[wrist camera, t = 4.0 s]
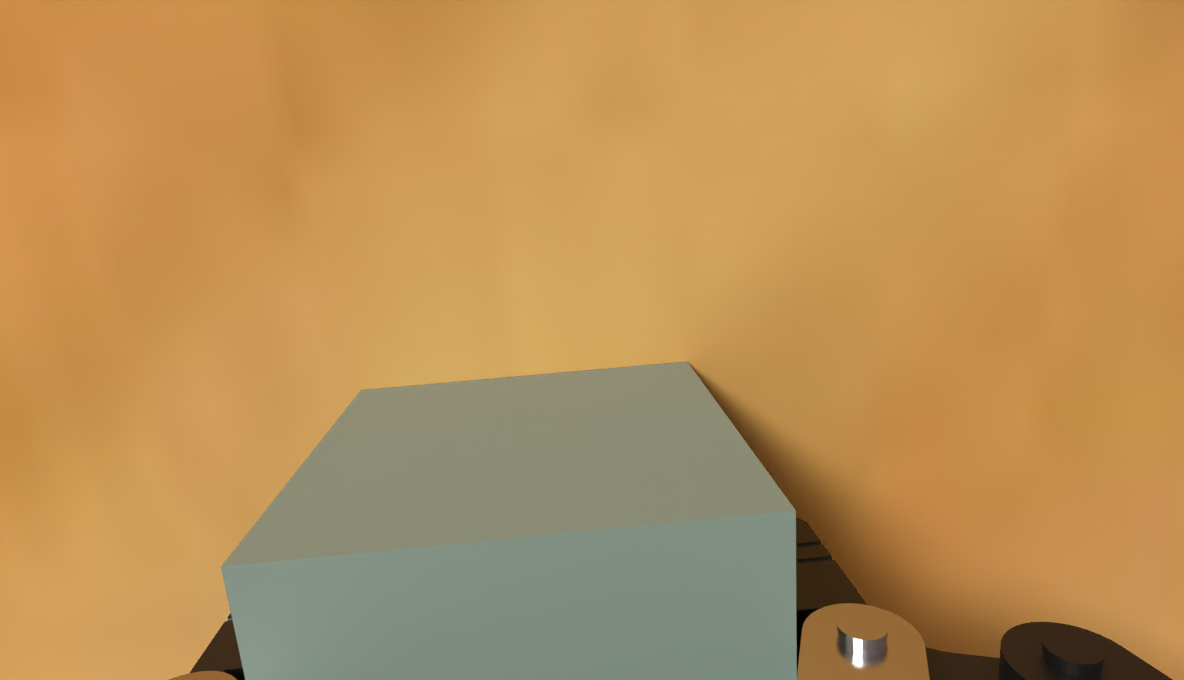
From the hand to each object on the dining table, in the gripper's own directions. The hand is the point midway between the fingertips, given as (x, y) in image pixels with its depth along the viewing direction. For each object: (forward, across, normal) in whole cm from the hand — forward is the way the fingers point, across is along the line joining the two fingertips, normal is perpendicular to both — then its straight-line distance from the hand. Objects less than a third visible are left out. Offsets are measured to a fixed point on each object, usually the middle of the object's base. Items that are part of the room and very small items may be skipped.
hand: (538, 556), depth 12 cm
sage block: (+1, 0, 0) cm, 1 cm away
